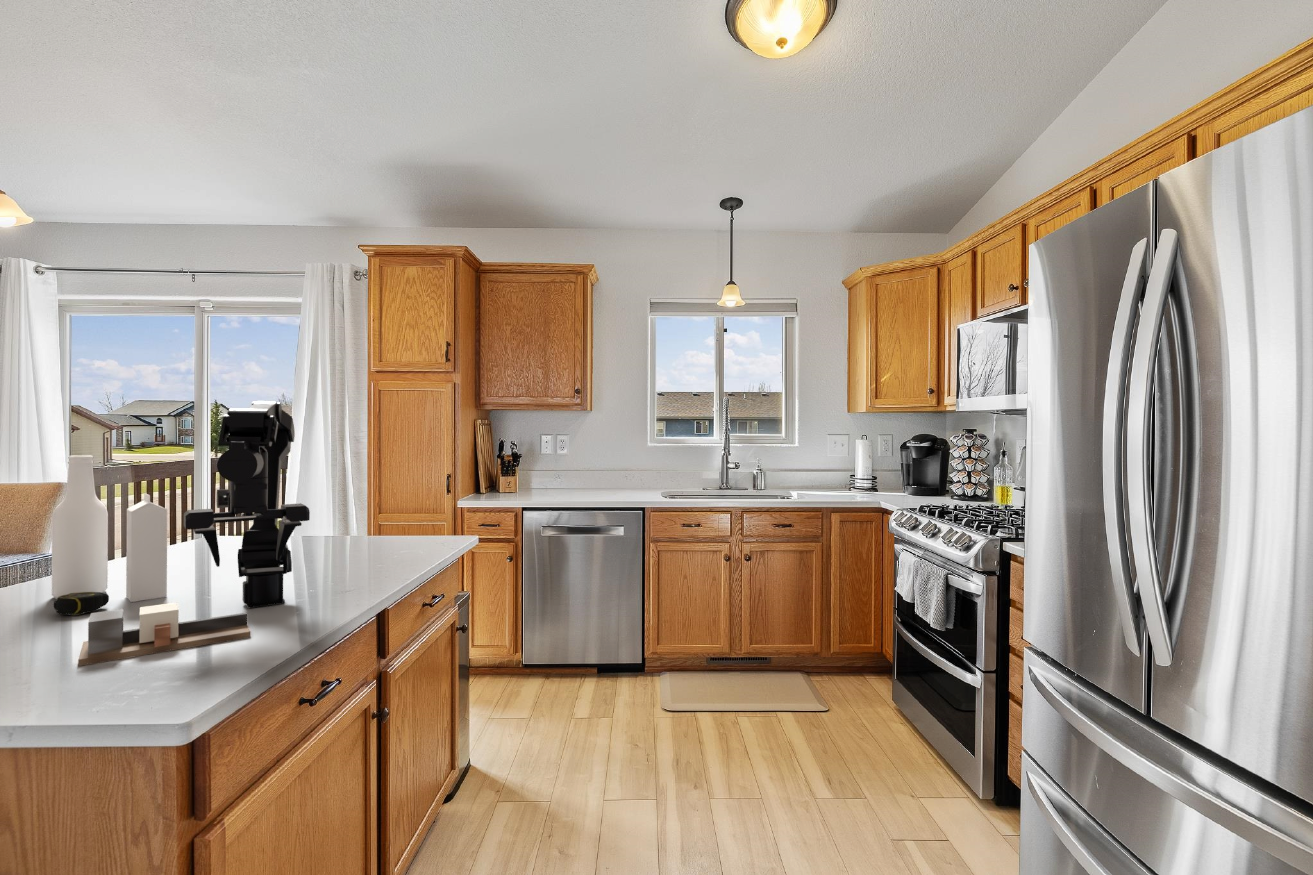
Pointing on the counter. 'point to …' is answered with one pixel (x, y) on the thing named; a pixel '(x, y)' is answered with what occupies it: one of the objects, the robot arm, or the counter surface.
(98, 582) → the alcohol
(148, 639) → the sleeve
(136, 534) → the milk
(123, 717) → the counter surface
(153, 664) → the counter surface
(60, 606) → the tape measure
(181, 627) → the board
